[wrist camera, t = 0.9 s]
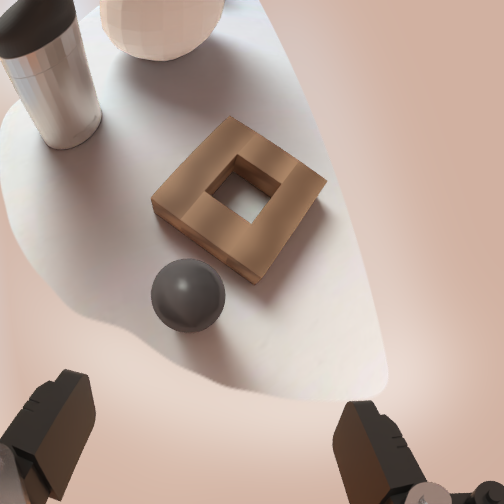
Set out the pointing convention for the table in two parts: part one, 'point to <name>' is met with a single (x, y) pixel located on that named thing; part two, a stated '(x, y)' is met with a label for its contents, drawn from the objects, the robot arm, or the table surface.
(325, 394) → the table surface
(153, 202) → the socket block
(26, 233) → the table surface
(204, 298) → the plug
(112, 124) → the table surface
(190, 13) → the white handled vase
